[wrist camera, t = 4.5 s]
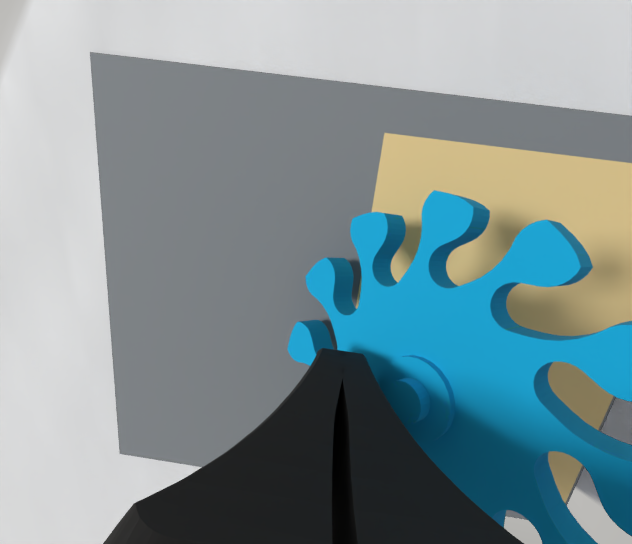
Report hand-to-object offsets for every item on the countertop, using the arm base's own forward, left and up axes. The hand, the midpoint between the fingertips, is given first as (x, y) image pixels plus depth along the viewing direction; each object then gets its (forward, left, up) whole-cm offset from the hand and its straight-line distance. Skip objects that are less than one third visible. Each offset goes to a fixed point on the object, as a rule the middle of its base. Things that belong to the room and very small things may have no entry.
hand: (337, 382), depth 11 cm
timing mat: (-1, 0, -4) cm, 4 cm away
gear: (-2, 0, -4) cm, 4 cm away
